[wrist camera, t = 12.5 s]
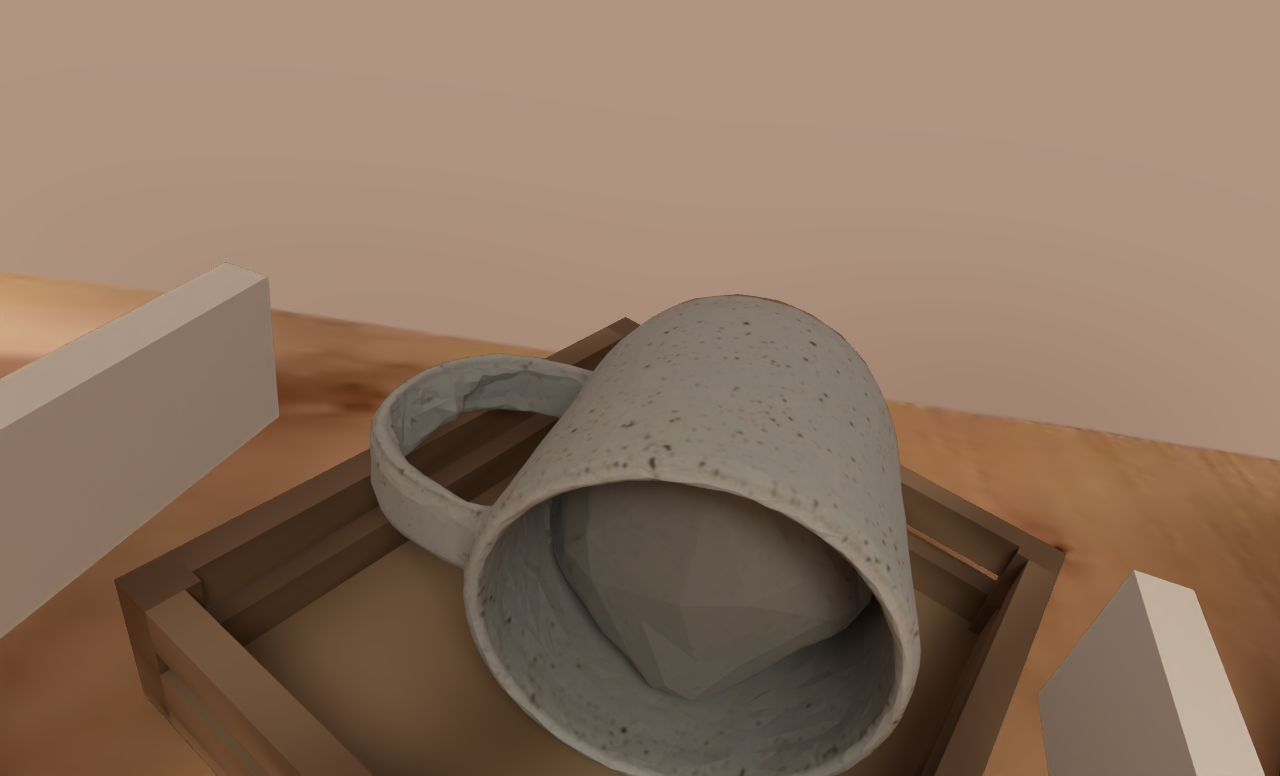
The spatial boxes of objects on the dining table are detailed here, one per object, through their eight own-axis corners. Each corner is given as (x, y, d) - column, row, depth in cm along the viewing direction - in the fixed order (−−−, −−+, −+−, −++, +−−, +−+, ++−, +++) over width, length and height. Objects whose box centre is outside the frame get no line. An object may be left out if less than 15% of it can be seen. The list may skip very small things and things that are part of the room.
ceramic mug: (774, 560, 22) (980, 382, 18) (724, 851, 16) (1033, 681, 11) (452, 346, 21) (588, 100, 17) (253, 562, 15) (394, 250, 10)
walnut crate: (1005, 640, 22) (1066, 553, 20) (715, 1331, 11) (790, 1283, 9) (608, 402, 27) (625, 317, 26) (144, 694, 16) (114, 579, 14)
